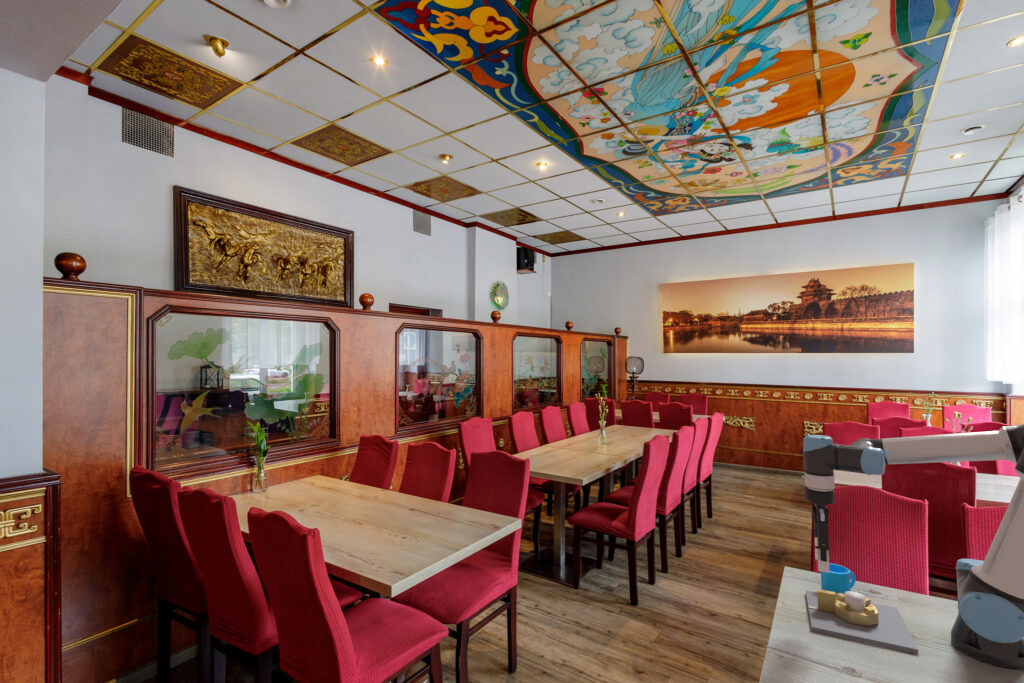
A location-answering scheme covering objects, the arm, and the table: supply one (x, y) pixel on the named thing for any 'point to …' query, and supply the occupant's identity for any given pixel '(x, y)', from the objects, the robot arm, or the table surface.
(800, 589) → the table surface
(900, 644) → the housing plate
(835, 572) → the mug
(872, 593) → the table surface
